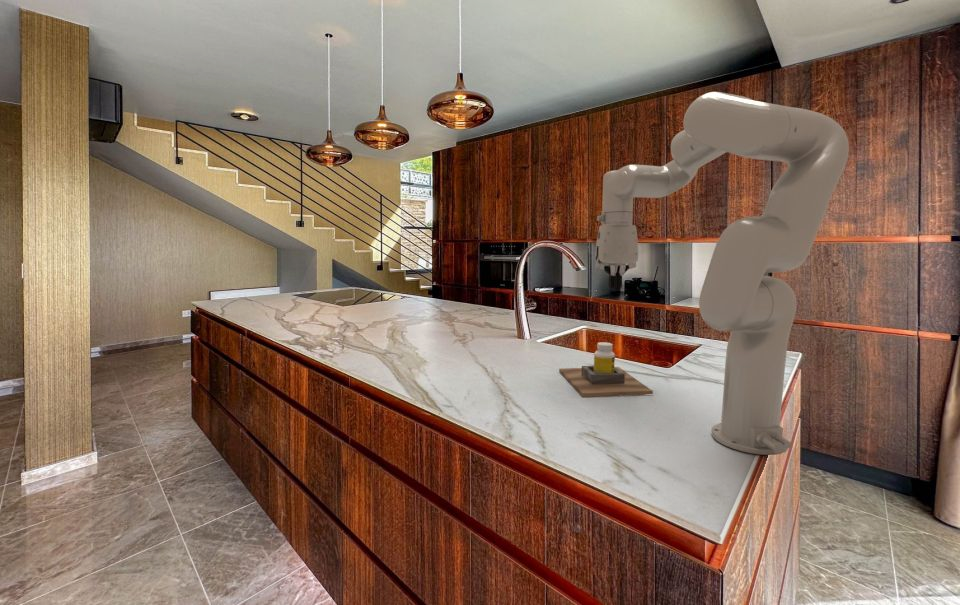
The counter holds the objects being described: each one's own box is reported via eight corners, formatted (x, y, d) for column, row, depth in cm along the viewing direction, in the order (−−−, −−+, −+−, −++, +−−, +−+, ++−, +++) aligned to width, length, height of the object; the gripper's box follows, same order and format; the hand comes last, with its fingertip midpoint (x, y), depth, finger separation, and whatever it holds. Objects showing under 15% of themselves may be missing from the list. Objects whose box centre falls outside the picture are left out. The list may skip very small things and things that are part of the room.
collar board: (652, 394, 112) (653, 381, 112) (582, 397, 111) (582, 383, 110) (618, 370, 134) (618, 358, 134) (559, 371, 133) (559, 360, 132)
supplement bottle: (614, 382, 119) (616, 346, 118) (593, 381, 120) (594, 345, 119) (612, 376, 124) (614, 342, 123) (592, 375, 125) (593, 341, 124)
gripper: (594, 219, 112) (592, 292, 114) (651, 219, 113) (648, 291, 116) (584, 221, 119) (582, 289, 121) (638, 220, 121) (635, 288, 123)
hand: (615, 290), depth 119 cm, fingers closed
